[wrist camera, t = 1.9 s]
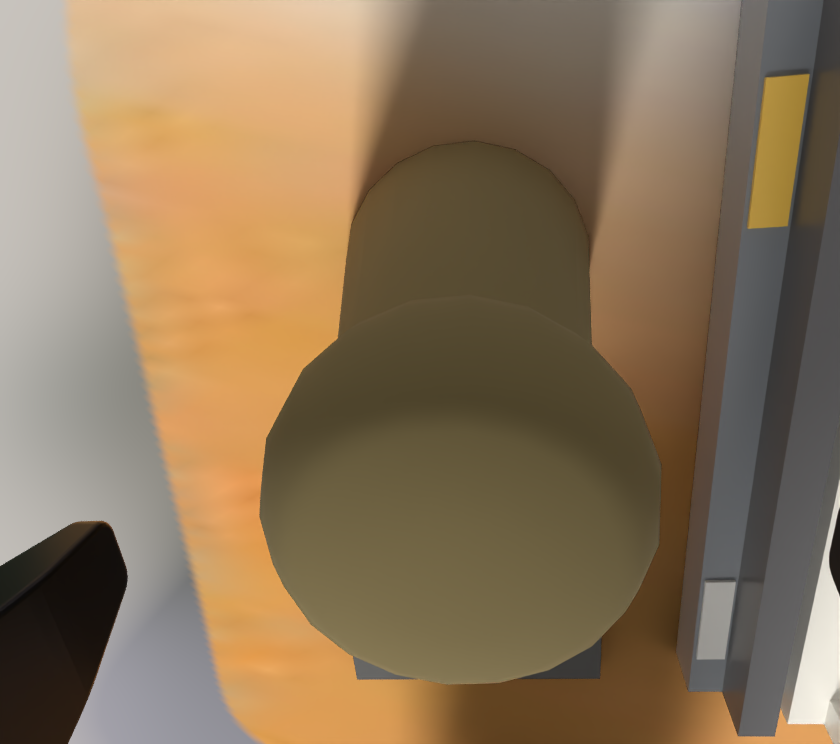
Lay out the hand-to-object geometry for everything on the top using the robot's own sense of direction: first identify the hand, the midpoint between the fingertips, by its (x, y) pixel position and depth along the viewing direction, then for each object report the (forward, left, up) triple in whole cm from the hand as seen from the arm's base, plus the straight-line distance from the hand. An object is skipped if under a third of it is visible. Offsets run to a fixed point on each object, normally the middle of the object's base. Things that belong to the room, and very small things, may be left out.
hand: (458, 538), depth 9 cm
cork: (0, 0, -10) cm, 10 cm away
